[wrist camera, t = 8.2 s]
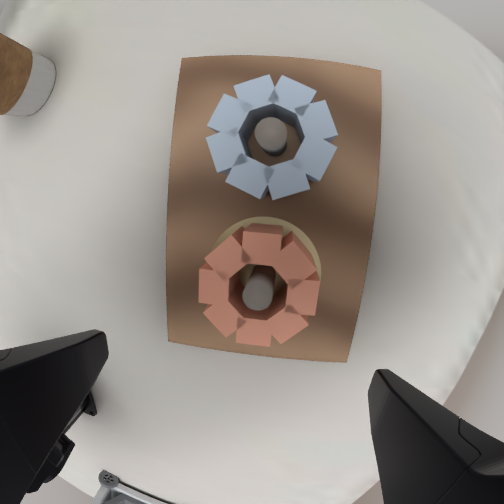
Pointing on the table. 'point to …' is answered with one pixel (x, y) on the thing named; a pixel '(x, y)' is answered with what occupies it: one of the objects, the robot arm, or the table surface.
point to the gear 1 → (288, 111)
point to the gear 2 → (231, 290)
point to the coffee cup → (23, 78)
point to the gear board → (274, 201)
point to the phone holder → (119, 492)
